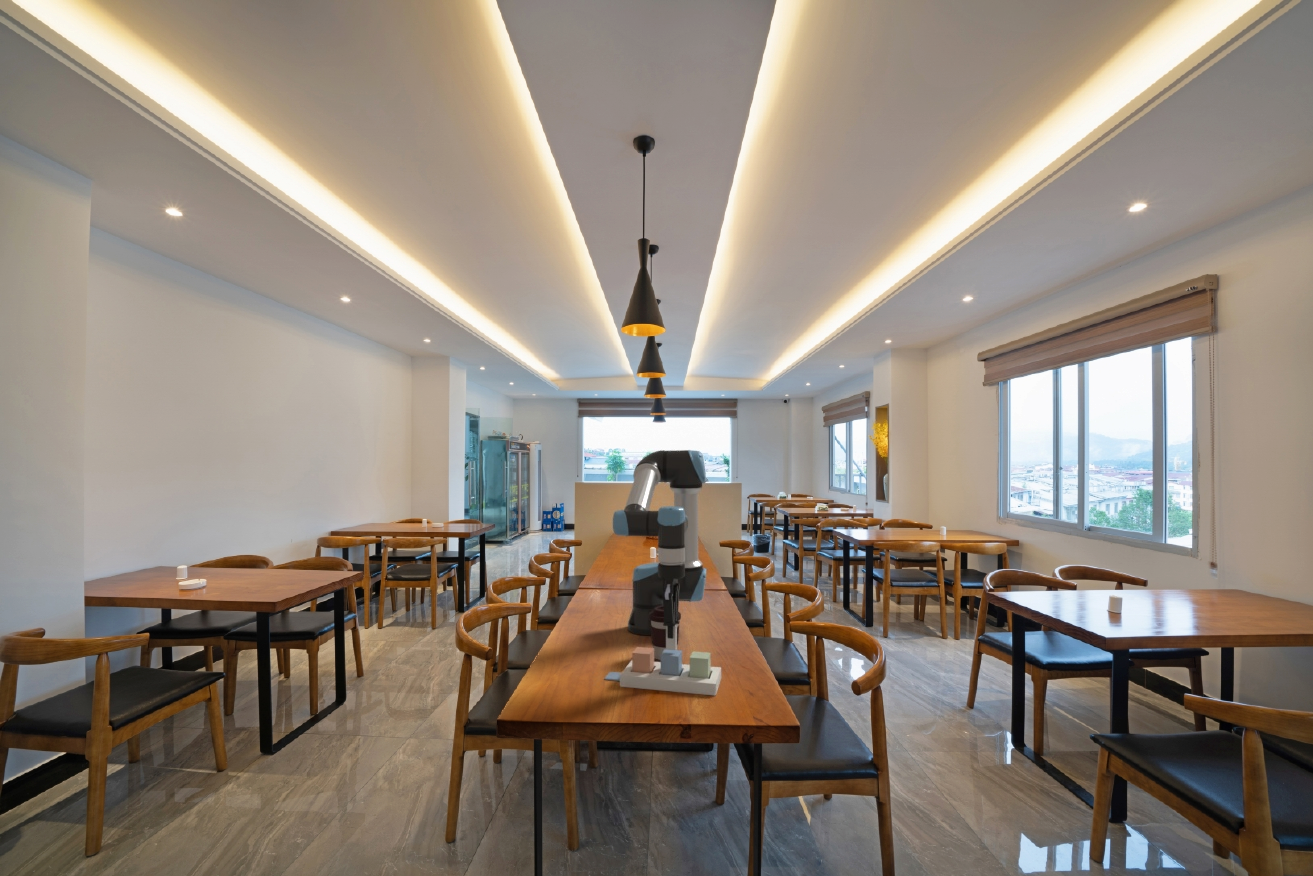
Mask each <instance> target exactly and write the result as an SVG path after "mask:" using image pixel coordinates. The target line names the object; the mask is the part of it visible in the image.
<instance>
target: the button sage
mask: <svg viewBox="0 0 1313 876" xmlns="http://www.w3.org/2000/svg"><path fill="white" fill-rule="evenodd" d="M711 656H712V655H711V652H706V651H705V652H703V651H692V652H691V653H690V656H689V665H690V677H694V678H705V679H708V678H709V675H710V672H711V667H712V666H711V664H712V662H711Z"/></svg>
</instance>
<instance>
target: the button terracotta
mask: <svg viewBox="0 0 1313 876" xmlns="http://www.w3.org/2000/svg"><path fill="white" fill-rule="evenodd" d="M631 656H632V657H631V660H632V672H638V673H651V671H652V670H653V668H654V662H655V658H654V648H653V647H643V646H642V647H641V646H637V647H636V648H635V649H634V650H633V651H632V654H631Z"/></svg>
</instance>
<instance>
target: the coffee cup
mask: <svg viewBox="0 0 1313 876" xmlns="http://www.w3.org/2000/svg"><path fill="white" fill-rule="evenodd" d="M681 615H682V614H681V612H680V611H678V620H677V621H680V620H682V619H681V618H682V616H681ZM649 619H650V620H651V635H650V636H651V637H650V638H651V645H652V648H654V660H657V661H661V654H662V652H663V651H664V649H666V626H663V623H664V609H663V606H658V607H655V608H654V610H653V611H652V612H650V613H649ZM675 625H677V646H678V645H679V637H680V635H679V634H680V633H679V632H680V623H679V624H675ZM676 650H678V648H677V649H676Z"/></svg>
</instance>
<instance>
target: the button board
mask: <svg viewBox="0 0 1313 876" xmlns="http://www.w3.org/2000/svg"><path fill="white" fill-rule="evenodd" d="M620 673H621V674H620V681H619V687H621V688H631V689H634V688H635V689H644V690H651V691H652V690H655V691H661V692H662V691H664V692H672V693H673V692H674V693H685V694H694V695H695V694H696V695H704V696H705V695H707V696H715V697H716V696H717V693H718V689H719V687H720V683H721V680H722V667H720V666H719V667H718V666H711V672H710V675H709V678H708V679H705V678H694V677H690V664H685V663H684V664H683V663H682V671H681V672H680V674H679V676H672V675H661V661H654V668H653V670H652V671H651V673H638V672H632V659H631V660H630V661H629V663H628V664H627V665H626V667H625V668H624V669H623V670H622V672H620Z"/></svg>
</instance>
